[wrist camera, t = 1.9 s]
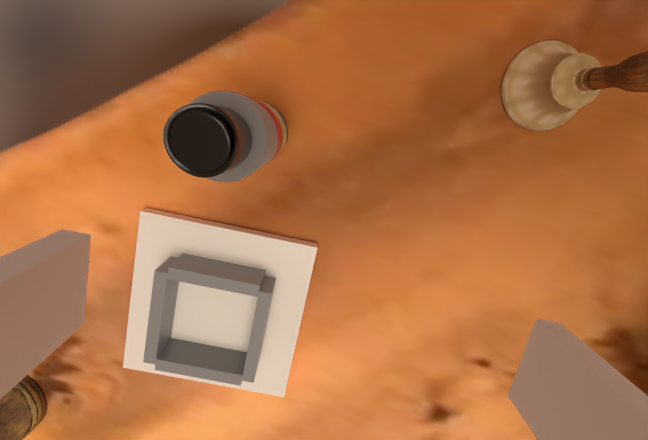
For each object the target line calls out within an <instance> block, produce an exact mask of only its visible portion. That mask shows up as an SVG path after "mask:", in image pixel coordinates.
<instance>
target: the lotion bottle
mask: <svg viewBox="0 0 648 440" xmlns="http://www.w3.org/2000/svg"><path fill="white" fill-rule="evenodd" d="M287 135H288V130H287V124H286V122H285V119H284V117H283V116H282V114H281V113H280V112H279V111H278V110H277V109H276V108H275V107H273V106H272V105H270V104H267V103H265V102H262V101H259V100H256V99H253V98H250V97H247V96H244V95H241V94H238V93H234V92H229V91H213V92H209V93H206V94H203V95H201V96H199V97H198V98H196V99H195V100H193V101H192V102H191V103H190V104H189V105H186V106H183V107H181V108H180V109H178V110H177V111H175V112H174V113H173V114H172V115H171V116H170V118H169V119H168V121H167V123H166V125H165V129H164V144H165V148H166V151H167V153H168V155H169V156H170V158H171V159H172V161H173V162H174V163H175V164H176V165H177V166H178V167H179V168H180V169H182V170H183V171H185V172H187V173H189V174H191V175H193V176H197V177H203V178H208V179H210V180H213V181H218V182H235V181H239V180H242V179H244V178H246V177H248V176H250V175H251V174H253V173H254V172H256V171H257V170H258V169H260V168H261V167H262V166H264V165H265V164H267V163H268V162H269V161H271V160H272V159H273V158H275V157H276V156H277V155H278V154H279V153H280V152H281V151H282V149H283V148H284V146H285V144H286V141H287Z"/></svg>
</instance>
